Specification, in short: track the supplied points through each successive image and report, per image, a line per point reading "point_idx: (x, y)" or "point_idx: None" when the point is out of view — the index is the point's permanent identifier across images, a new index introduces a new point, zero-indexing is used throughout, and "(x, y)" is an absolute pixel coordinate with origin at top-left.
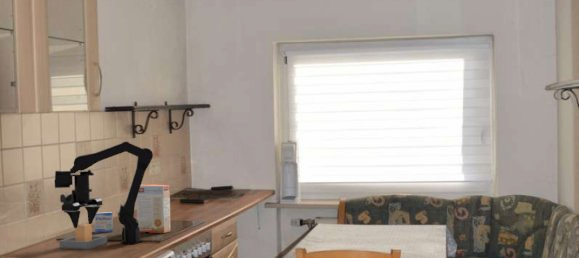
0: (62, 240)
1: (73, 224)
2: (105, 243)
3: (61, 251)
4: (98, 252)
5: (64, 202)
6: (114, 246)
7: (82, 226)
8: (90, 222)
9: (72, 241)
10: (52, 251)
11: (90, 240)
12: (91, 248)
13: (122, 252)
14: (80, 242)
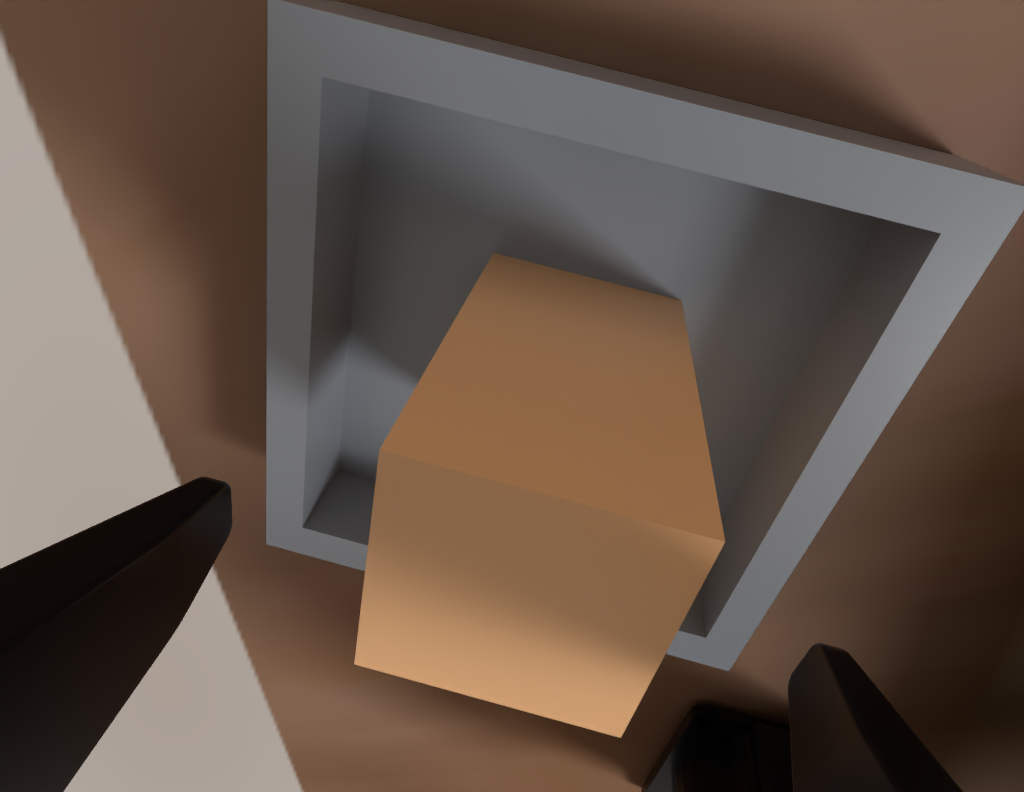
0: (292, 67)
1: (121, 529)
2: None
3: (126, 180)
4: (229, 606)
5: None
6: None
7: (362, 614)
8: (801, 717)
9: (268, 321)
10: (67, 12)
11: None
12: None
13: (287, 752)
14: (271, 451)
